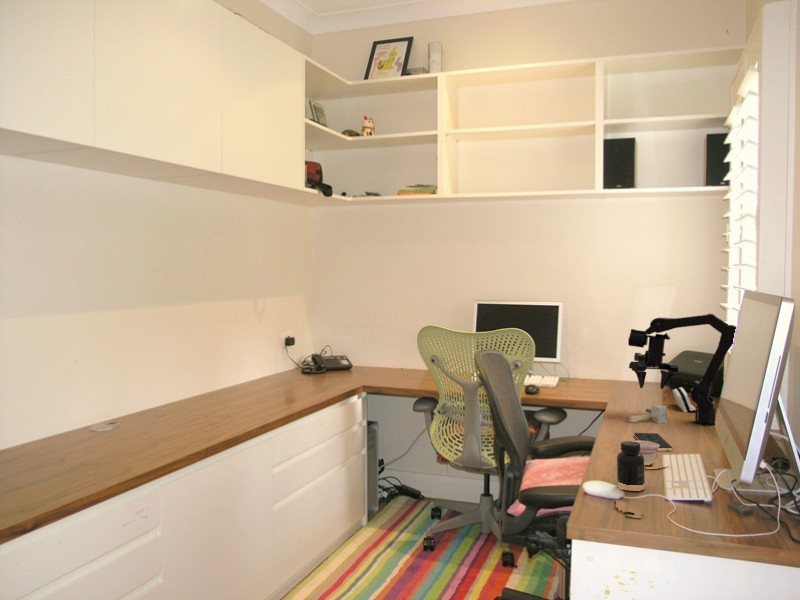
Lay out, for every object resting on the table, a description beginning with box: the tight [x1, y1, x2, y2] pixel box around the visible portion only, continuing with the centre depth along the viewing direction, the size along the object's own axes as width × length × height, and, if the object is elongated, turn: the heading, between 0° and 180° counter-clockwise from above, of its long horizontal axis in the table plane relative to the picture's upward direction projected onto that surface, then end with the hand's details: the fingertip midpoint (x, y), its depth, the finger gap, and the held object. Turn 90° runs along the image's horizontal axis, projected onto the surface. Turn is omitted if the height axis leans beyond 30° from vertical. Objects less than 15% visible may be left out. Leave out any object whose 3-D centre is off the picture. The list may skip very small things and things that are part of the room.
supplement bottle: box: [616, 440, 646, 485], centre depth 168 cm, size 7×7×12 cm
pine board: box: [624, 412, 652, 423], centre depth 249 cm, size 4×13×2 cm, turn 111°
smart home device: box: [633, 432, 673, 449], centre depth 214 cm, size 8×2×20 cm
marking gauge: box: [645, 404, 668, 424], centre depth 249 cm, size 8×4×6 cm, turn 21°
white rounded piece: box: [672, 387, 696, 413], centre depth 272 cm, size 17×5×10 cm, turn 166°
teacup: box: [632, 440, 660, 462], centre depth 190 cm, size 12×12×6 cm
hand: (651, 388), depth 253 cm, fingers open, 9 cm apart
